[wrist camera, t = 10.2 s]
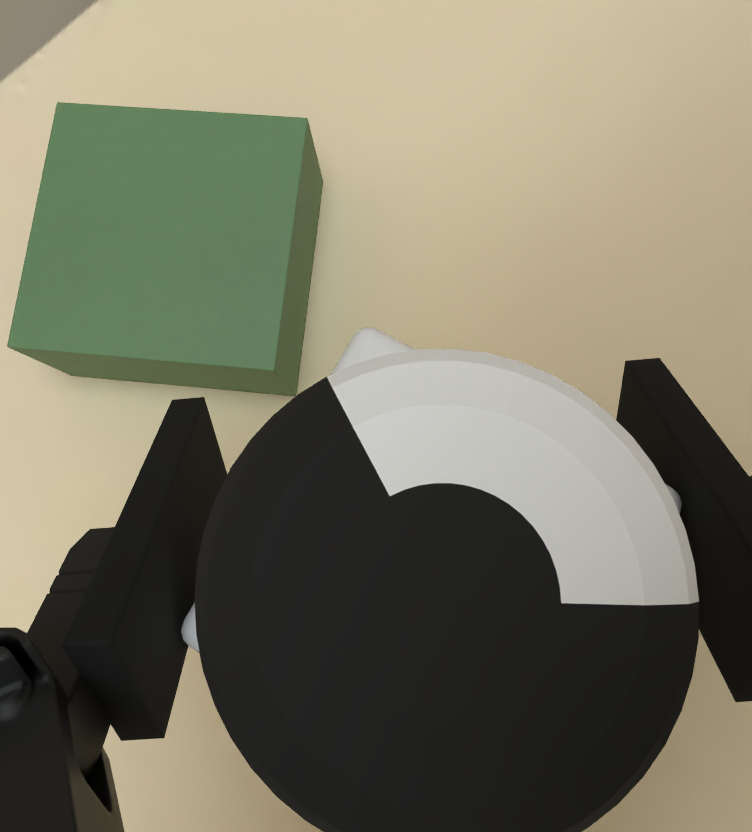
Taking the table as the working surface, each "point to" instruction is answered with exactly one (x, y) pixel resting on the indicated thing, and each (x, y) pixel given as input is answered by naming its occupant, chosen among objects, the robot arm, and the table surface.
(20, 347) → the green block
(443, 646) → the medicine bottle
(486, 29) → the table surface
